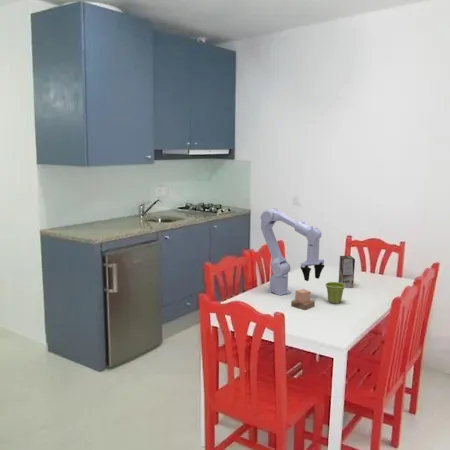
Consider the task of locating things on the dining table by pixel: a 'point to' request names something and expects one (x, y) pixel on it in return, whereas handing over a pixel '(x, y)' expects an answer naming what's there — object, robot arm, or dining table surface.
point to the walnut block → (304, 305)
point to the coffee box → (346, 271)
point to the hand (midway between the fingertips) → (311, 279)
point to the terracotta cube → (303, 296)
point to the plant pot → (335, 291)
